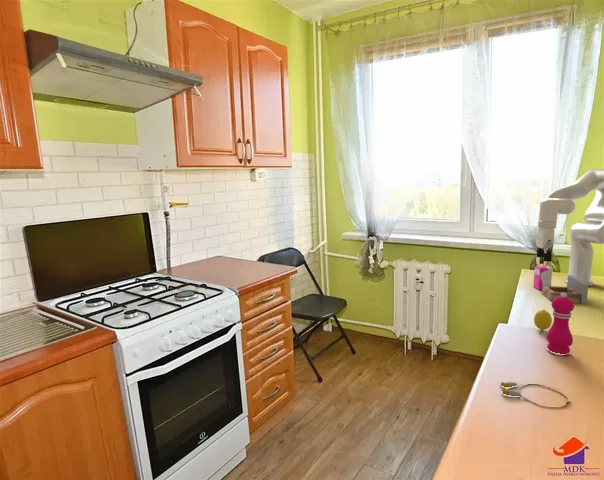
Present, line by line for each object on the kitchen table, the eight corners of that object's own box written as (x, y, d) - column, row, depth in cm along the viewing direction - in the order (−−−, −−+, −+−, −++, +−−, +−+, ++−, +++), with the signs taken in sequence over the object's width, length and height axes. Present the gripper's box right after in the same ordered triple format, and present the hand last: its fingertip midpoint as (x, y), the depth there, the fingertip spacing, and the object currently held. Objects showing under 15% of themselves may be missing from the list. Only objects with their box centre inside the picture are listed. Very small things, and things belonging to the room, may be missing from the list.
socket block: (541, 293, 186) (542, 285, 186) (569, 295, 183) (569, 287, 183) (550, 301, 175) (551, 292, 174) (580, 303, 172) (581, 294, 172)
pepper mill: (567, 348, 129) (573, 290, 126) (574, 358, 122) (581, 296, 119) (542, 345, 131) (547, 288, 128) (548, 355, 125) (553, 294, 121)
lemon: (549, 328, 145) (551, 308, 144) (551, 334, 140) (553, 313, 139) (532, 326, 148) (534, 306, 146) (534, 332, 143) (535, 311, 141)
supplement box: (544, 287, 197) (546, 265, 195) (550, 291, 191) (553, 268, 189) (532, 287, 198) (534, 265, 196) (538, 290, 192) (540, 268, 190)
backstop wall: (566, 293, 187) (568, 275, 186) (570, 293, 187) (572, 275, 185) (581, 304, 172) (583, 284, 170) (586, 304, 171) (588, 284, 170)
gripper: (532, 222, 198) (529, 255, 201) (545, 226, 181) (541, 262, 184) (549, 223, 196) (545, 256, 199) (563, 227, 180) (559, 263, 182)
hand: (543, 259), depth 192 cm, fingers open, 9 cm apart
